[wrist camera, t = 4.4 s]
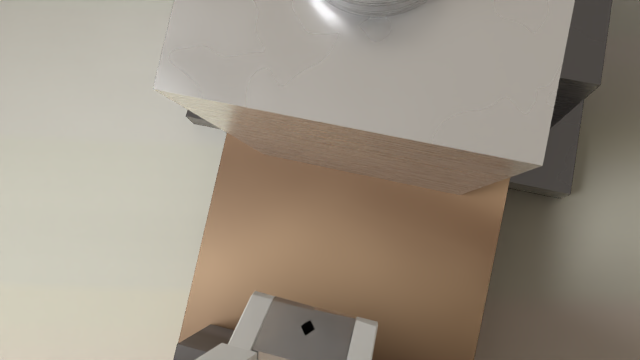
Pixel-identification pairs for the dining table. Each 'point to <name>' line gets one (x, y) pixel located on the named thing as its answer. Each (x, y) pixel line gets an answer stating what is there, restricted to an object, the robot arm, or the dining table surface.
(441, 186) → the block
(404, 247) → the beam
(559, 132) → the fulcrum
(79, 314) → the dining table surface
